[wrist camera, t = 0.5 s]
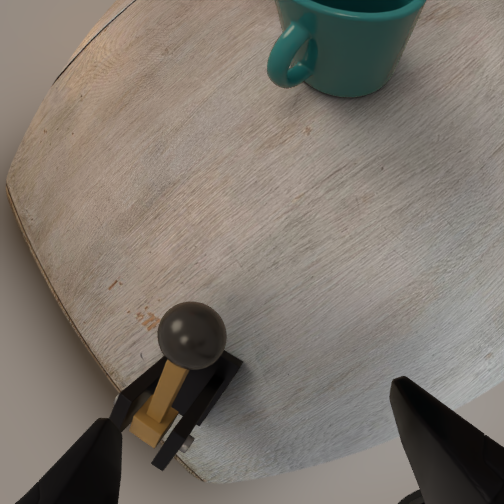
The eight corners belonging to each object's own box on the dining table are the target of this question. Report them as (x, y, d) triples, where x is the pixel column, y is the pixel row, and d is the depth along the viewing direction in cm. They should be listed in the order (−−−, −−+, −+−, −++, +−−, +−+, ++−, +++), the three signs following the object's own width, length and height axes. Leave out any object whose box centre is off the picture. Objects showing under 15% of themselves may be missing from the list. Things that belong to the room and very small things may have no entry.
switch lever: (190, 277, 15) (151, 310, 12) (247, 313, 15) (218, 355, 12) (143, 403, 21) (120, 430, 18) (178, 427, 21) (157, 456, 18)
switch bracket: (183, 323, 26) (120, 369, 17) (243, 361, 26) (205, 427, 16) (151, 385, 28) (93, 438, 18) (203, 420, 27) (160, 485, 17)
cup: (241, 81, 23) (194, 3, 13) (331, 1, 21) (328, -86, 10) (326, 148, 23) (333, 88, 12) (413, 57, 20) (453, -21, 9)
